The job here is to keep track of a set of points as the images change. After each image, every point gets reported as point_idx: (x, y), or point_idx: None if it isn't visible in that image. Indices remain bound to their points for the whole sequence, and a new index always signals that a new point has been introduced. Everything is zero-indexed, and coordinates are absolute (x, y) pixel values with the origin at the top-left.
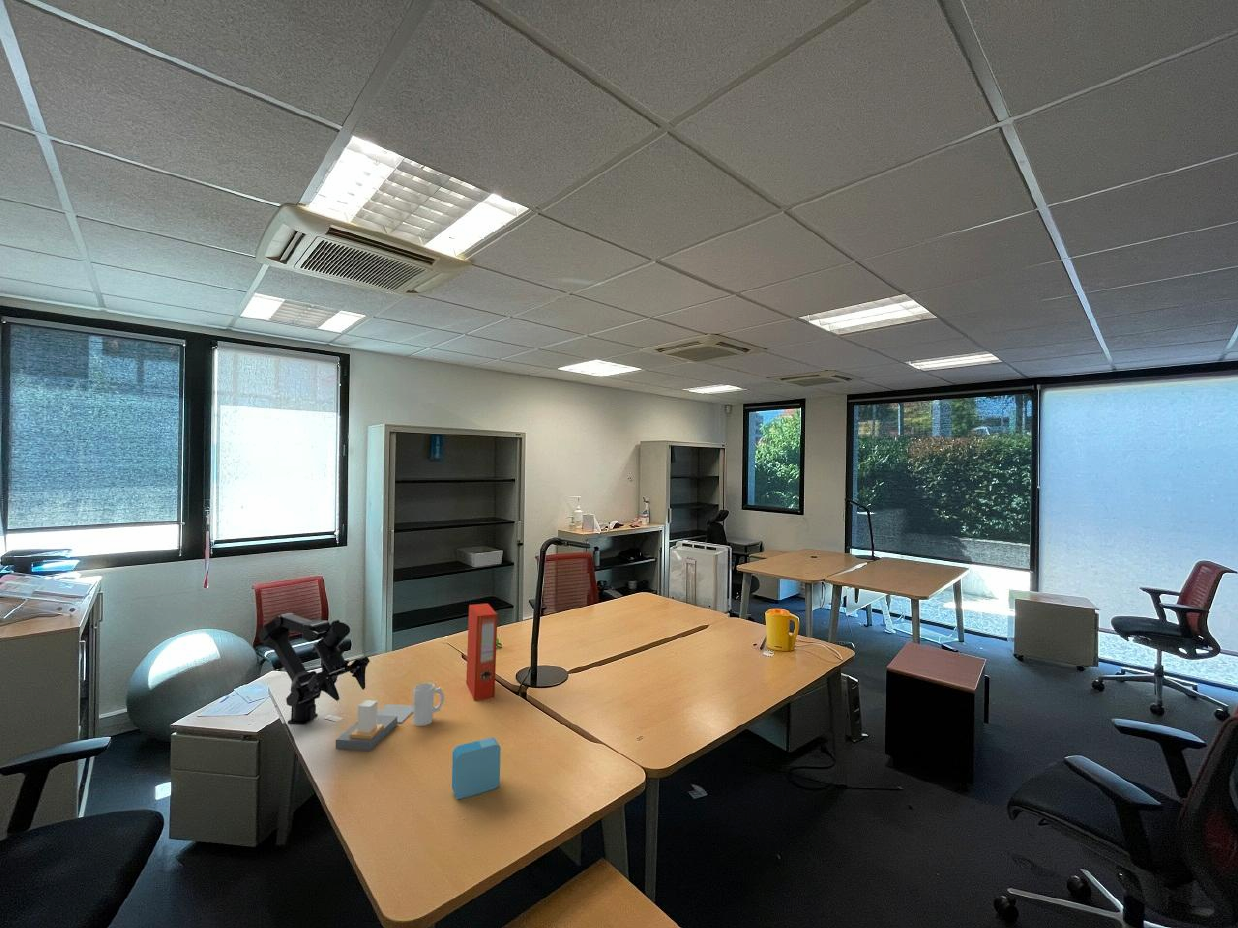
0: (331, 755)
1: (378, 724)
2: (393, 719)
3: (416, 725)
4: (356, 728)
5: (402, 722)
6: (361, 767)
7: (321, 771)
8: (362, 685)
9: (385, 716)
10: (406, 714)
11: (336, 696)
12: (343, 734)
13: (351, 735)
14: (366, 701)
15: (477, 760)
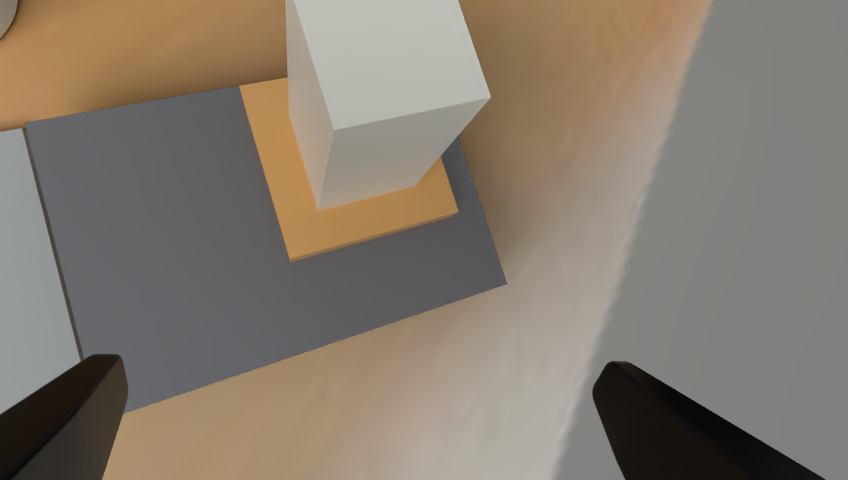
0: (531, 252)
1: (257, 125)
2: (92, 116)
3: (17, 2)
4: (339, 280)
5: (9, 135)
6: (532, 18)
7: (635, 173)
8: (95, 422)
9: (68, 222)
10: None
11: (670, 395)
12: (440, 295)
13: (452, 200)
14: (362, 90)
15: None
